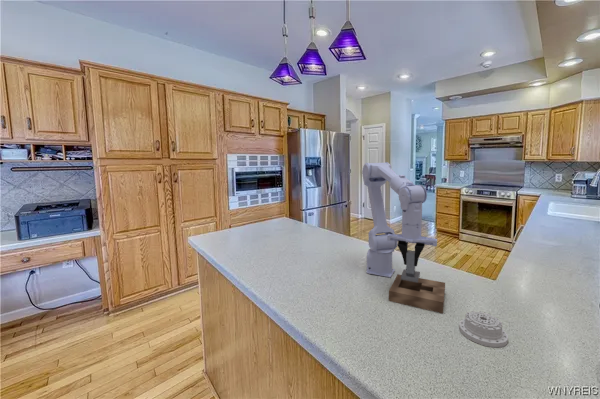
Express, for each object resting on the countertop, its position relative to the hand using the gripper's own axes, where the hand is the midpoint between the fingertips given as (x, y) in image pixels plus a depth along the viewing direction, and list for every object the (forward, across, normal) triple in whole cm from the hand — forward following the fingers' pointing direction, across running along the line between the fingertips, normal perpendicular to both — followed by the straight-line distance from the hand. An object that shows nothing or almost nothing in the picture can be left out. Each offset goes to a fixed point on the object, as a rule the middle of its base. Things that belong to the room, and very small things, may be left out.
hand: (410, 264), depth 84 cm
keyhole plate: (+10, +2, 0) cm, 11 cm away
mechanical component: (+11, +19, -12) cm, 25 cm away
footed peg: (+5, 0, 0) cm, 5 cm away
